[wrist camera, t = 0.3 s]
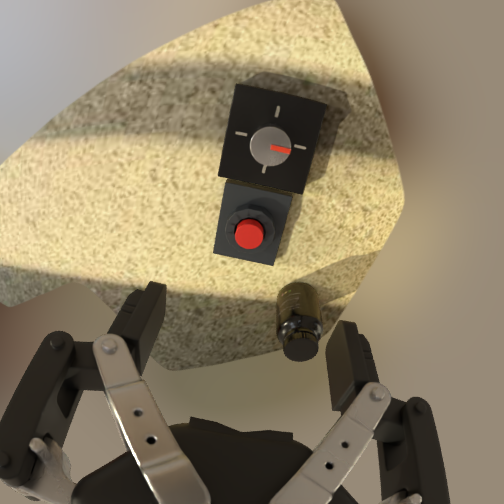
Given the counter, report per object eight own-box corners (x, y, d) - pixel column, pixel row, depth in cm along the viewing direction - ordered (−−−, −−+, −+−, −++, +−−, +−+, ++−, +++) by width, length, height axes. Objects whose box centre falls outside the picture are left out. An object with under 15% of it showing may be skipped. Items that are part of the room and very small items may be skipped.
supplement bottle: (325, 300, 52) (335, 353, 41) (292, 319, 54) (294, 373, 44) (302, 273, 49) (308, 325, 39) (267, 294, 52) (265, 348, 41)
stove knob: (249, 153, 38) (245, 162, 33) (256, 118, 35) (254, 123, 31) (284, 160, 38) (285, 171, 34) (292, 126, 36) (295, 132, 31)
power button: (239, 216, 42) (237, 221, 40) (266, 221, 42) (265, 227, 40) (234, 239, 43) (232, 246, 42) (260, 245, 44) (259, 251, 42)
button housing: (227, 178, 42) (223, 186, 39) (291, 192, 43) (293, 201, 40) (214, 247, 48) (210, 259, 45) (273, 260, 48) (273, 272, 45)
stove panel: (238, 83, 36) (235, 83, 33) (323, 103, 36) (327, 104, 34) (221, 170, 42) (217, 176, 39) (300, 187, 42) (302, 195, 40)
